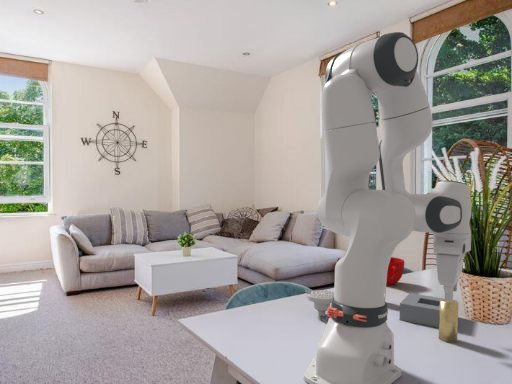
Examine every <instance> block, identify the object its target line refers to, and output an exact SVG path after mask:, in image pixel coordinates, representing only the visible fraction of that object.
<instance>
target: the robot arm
mask: <svg viewBox="0 0 512 384" xmlns="http://www.w3.org/2000/svg"><path fill="white" fill-rule="evenodd" d="M418 65H419V52H418V48H417V46H416V43H415V41H414V40H413V38H411V37H410V36H408V34H406V33H404V32H401V31H395V32H390V33H389V32H388V33H385V34H383V35H381V36H380V37H376V38H373V39H370V40H369V39H368V40H367V41H363V42H360V43H358V44H355V45H353V46H351V47H350V48H348V49H347V50H345V51H341V52H339V53H337V54H336V55H335V56H334V57H332V59H330V61H329V62H328V63H327V65H326V68H325V76H324V79H325V84H324V85H323V88H322V91H321V117H322V119H321V120H322V129H323V136H324V143H325V149H326V150H325V151H326V158H327V177H326V178H327V179H326V186H325V191H324V193H323V195H322V196H321V198H320V199H319V202H318V204H317V209H316V212H317V214H316V215H317V218H318V220H319V222H320V224H321V225H322V226H323V227H325V228H326V229H327V230H329V231H331V232H333V233H335V234H338V235H341V236H346V237H350V238H349V243H348V248H347V251H346V253H345V254H344V256H342V257H341V258H339V260H338V261H337V262H336V263H335V266H334V287H333V289H334V290H333V293H334V297H333V299H332V303H330V307H328V310H327V311H326V315H327V317H329V318H328V321H327V323H326V325H325V328H324V330H323V334H322V336H321V337H320V341H319V343H318V346H317V347H316V348H317V349H316V352H315V355H314V356H313V358H312V360H311V362H310V364H309V365H308V367H307V369H306V370H305V372H304V374H303V380H304V381H305V382H307V384H393V383H394V382H395V381H397V380H398V379H399V378H400V377H402V376H403V372H402V371H403V370H402V369H401V368H400V367H399V366H398V365H396V364H395V335H394V332H393V331H392V329H390V327H389V325H388V324H387V320H388V313H389V308H388V303H387V302H386V298H387V296H386V295H387V285H386V280H387V270H388V265H389V262H390V259H391V257H393V254H394V252H395V250H396V249H397V247H398V246H399V245H400V244H401V243H402V242H403V241H404V240H406V239H407V238H408V237H409V236H410V235H411V234H412V232H421V233H429V234H430V233H431V234H433V235H432V236H433V238H432V239H433V241H432V246H433V247H432V248H433V253H434V254H436V255H435V256H436V261H435V262H436V273H437V281H438V284H439V285H441V286H443V291H444V292H443V293H444V299H445V300H449V301H452V300H454V292H457V291H458V281H459V277H460V275H461V274H462V271H463V266H464V265H463V264H464V263H463V259H464V258H465V257H466V253H467V252H470V251H472V231H471V230H472V229H471V226H470V220H471V217H472V199H471V192H470V187H469V185H468V184H466V183H464V182H461V181H457V180H455V181H454V180H440V181H437V183H436V185H435V187H434V189H432V190H431V191H429V192H426V193H421V194H420V193H419V194H418V193H410V192H409V191H408V190H407V189H406V186H405V185H406V184H405V176H404V175H405V174H404V159H405V157H406V156H407V155H408V154H409V153H410V152H412V151H413V150H415V149H417V148H419V147H420V146H422V145H423V144H424V143H425V141H427V139H428V138H429V137H430V135H431V134H432V133H431V132H432V130H433V116H432V112H431V108H430V103H429V99H428V96H427V92H426V90H425V87H424V83H423V81H422V79H421V77H420V75H419V73H418V71H417V70H418ZM373 94H374V95H375V97H376V98H377V103H378V104H377V105H378V111H379V115H380V116H379V117H380V120H381V123H382V136H381V137H382V139H381V140H380V142H379V136H378V131H377V124H376V117H375V116H376V115H375V110H374V107H373V103H372V95H373ZM378 162H379V173H380V182H381V188H382V189H370V188H369V181H370V176H371V172H372V169H373V168H374V167H376V165H377V164H378Z"/></svg>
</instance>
